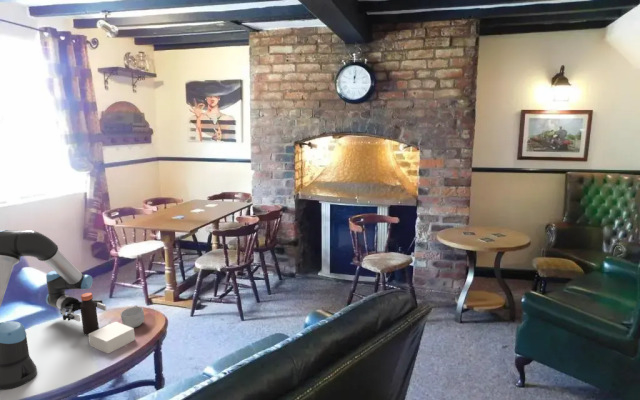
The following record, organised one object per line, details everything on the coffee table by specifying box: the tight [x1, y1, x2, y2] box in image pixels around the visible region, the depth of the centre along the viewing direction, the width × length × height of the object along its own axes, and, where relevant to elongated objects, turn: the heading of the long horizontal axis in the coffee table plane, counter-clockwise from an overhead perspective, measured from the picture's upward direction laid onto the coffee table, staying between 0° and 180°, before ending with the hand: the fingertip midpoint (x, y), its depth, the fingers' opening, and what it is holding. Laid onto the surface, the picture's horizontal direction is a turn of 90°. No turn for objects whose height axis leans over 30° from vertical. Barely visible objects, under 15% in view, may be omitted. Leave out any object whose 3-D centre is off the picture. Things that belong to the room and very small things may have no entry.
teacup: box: [120, 305, 145, 329], centre depth 222 cm, size 14×11×8 cm
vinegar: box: [80, 292, 100, 336], centre depth 213 cm, size 7×7×20 cm
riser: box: [87, 321, 136, 354], centre depth 203 cm, size 14×14×6 cm
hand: (92, 313), depth 211 cm, fingers open, 13 cm apart
